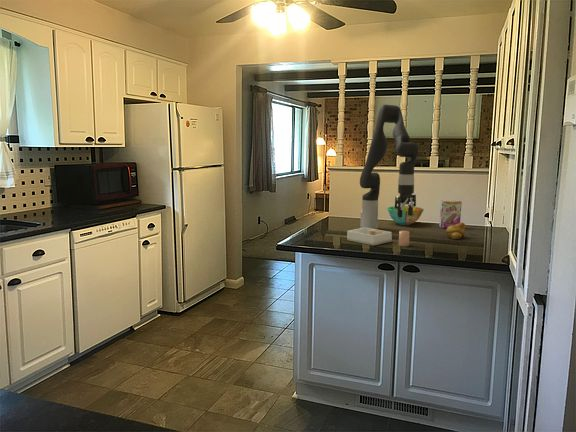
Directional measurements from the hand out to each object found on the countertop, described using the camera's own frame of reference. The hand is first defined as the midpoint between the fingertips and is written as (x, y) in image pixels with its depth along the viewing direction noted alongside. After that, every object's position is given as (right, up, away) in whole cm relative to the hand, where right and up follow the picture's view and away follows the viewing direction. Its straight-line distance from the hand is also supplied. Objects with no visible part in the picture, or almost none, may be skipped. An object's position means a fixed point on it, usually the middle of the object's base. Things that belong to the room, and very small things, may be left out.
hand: (405, 216), depth 227 cm
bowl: (+15, -5, +61) cm, 63 cm away
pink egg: (0, -14, +2) cm, 15 cm away
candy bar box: (+39, -7, +48) cm, 63 cm away
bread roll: (+32, -12, +20) cm, 39 cm away
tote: (-16, -13, +13) cm, 24 cm away
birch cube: (-13, -12, +10) cm, 20 cm away
